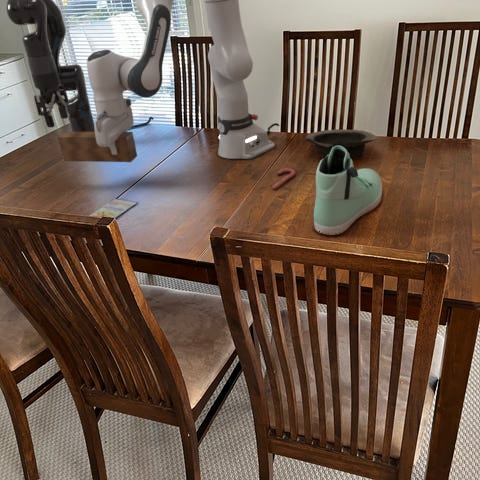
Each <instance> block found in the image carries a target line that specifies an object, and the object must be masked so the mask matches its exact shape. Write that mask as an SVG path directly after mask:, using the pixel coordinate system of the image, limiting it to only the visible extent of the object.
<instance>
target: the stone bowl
mask: <svg viewBox="0 0 480 480" xmlns="http://www.w3.org/2000/svg"><path fill="white" fill-rule="evenodd" d="M377 139H378V136H376V135H375V134H373V133H372V132H369V131H365V130H358V129H344V128H343V129H339V128H338V129H336V128H334V129H325V130H324V129H323V130H320V131H314V132H311V133H308V134H307V135H306V137H305V138H304V140H305V141H307V142H309V143H312V144H313V146H314V150H315V152H316V154H317V156H320V157H322V159H324V158H325V157H326V156H327V155H329V154H330V152H331V149H332V148H333V147H334V146H342V147H344V148H345V149H346V150H347V152H348V153H349V156H350V159H352V158H355V159H356V158H357V159H359V158H362V157H363V156H364V154H365V149H366V144H368V143H372V142H374V141H375V140H377Z"/></svg>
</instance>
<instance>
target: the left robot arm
mask: <svg viewBox="0 0 480 480" xmlns="http://www.w3.org/2000/svg"><path fill="white" fill-rule="evenodd" d="M5 8H6V10H5V11H6V15H7V17H8V19H9V20H10V21H11V22H12V23H13V24H14V25H17V26H31V25H36V29H35V30H34V31H31V32H29V33H27V34H24V35H23V36H22V44H23V47H24V51H25V55H26V57H27V63H28V67H29V71H30V73H31V79H32V82H33V85H34V87H35V88H36V89H37V90H39V95H33V99H34V102H35V107H36V110H37V114H38V116H41V117H42V116H43V118H44V121H45V124H46V126H47V128H54V127H55V126H56V125H55V122H54V119H53V115H52V112H53V111H52V110H53V109H54V106H55V105H56V106H58V107H57V109H58V112H59V116H60V118H61V119H63V120H64V119H68V122H69V126H70V130H71V132H95V129H94V124H95V121H94V116H93V113H92V108H91V104H90V99H89V94H88V90H87V85H86V77H85V73H84V71H83V68H82V66H81V65H79V64H66V65H61V62H60V54H61V50H62V47H63V44H64V41H65V37H66V33H67V27H66V24H65V20H64V16H63V13H62V11H61V9H60V7H59V6H58V5H57V4H56V2H55V1H53V0H7V1H6V7H5ZM73 91H77V94H75V96H73V97H71V98H68V95H67V92H73ZM152 120H154V117H153V116H150V117H148V120H147V121H146V122H143V123H138V124H133V127H131V128H130V129H129V130H131V129H134V128H138V127H139V128H141V127H144V126H147V125H148V124H151V121H152Z"/></svg>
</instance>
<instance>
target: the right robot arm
mask: <svg viewBox="0 0 480 480" xmlns="http://www.w3.org/2000/svg"><path fill="white" fill-rule="evenodd" d="M174 1H175V0H134V2H135V6H136V8H137V11H138V12H139V13H140V15H141V16H142V18H143V19H144V21H145V23H146V33H145V38H144V42H143V47H142V52H141V55H140V57H139V58H138V59H137V58H134V57H130V56H124V55H121V54H118V53H115V52H114V51H112V50H110V49H101V50H97V51H95V52H93V53H91V54H89V56H88V57H87V59H86V69H87V75H88V81H89V85H90V88H91V89H92V94H93V103H94V106H95V111H96V115H97V116H96V119H95V121H94V129H95V136H96V142H97V144H98V146H100V147H109V148H110V149H111V153H112V154H113V155H116V154H117V153H118V152H119V151H118V148H116V146H115V141H116V140H117V139H118V137H119V136H121V135H122V134H123V133H124V132H129V130H131V129H132V128H131V127H133V126H134V123H135V122H134V113H133V108H132V107H131V106H132V100H131V98H125V97H124V92H126V91H129V92H131V93H134V94H135V95H137V96H138V97H141V98H151V97H153V96H154V95H156V94H157V93H158V92H159V90H160V89H161V87H162V85H163V63H164V58H165V53H166V49H167V44H168V39H169V37H170V36H169V35H170V29H171V25H172V9H173V6H174V5H173V4H174ZM203 1H204V7H205V15H206V23H207V27H208V30H209V32H210V35H211V38H212V39H211V40H212V41H213V44H212V46H211V47H210V48H209V50H208V52H207V59H208V63H209V66H210V71H211V76H212V82H213V85H214V89H215V94H216V103H217V113H218V114H217V115H218V116H217V126H218V132H219V136H218V139H219V142H218V149H217V150H218V151H217V155H218V156H219V157H221V158H224V159H229V160H231V159H232V160H236V159H237V160H238V159H239V160H240V159H246V160H250V159H253V158H255V157H258V156H260V155H262V154H264V153H266V152H268V151H270V150H272V149H275V148H276V145H275V143H274V141H272V140H270V139H269V135H268V134H270V132H271V129H272V128H273V127H275V126H277V127H280V124H279V123H277V122H276V123H275V122H274V123H272V124H271V125H269V126H268V127H267V131H266V130H265V129H264V128H262V127H261V126H259V125H258V124H256V123H254V121H258V119H259V116H258V115H257V114H254V113H253V114H251V113H249V100H248V99H249V98H248V91H247V88H246V85H245V82H244V80H246V79H248V77H250V75H251V73H252V71H253V68H254V66H253V65H254V62H253V58H252V57H251V54H250V52H249V48H248V47H249V46H248V42H247V39H246V35H245V32H244V29H243V25H242V19H241V10H240V3H239V0H203ZM130 128H131V129H130Z"/></svg>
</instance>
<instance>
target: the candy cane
mask: <svg viewBox="0 0 480 480" xmlns="http://www.w3.org/2000/svg"><path fill="white" fill-rule="evenodd" d="M285 173H288V174H287V175H285V177H283V178H281V179H280V180H279V181H277V182H276V183H275V184H273V185H272V189H273V190H276V189H278V188H279V187H280V186H282V185H283V184H285V183H286V182H287V181H289V180H290V179H292V178H293V177H295V175H296V171H295V169H293V168H289V167H285V168H281V169H279V170H278V171H277V175H278V176H281V175H282V174H285Z"/></svg>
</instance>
